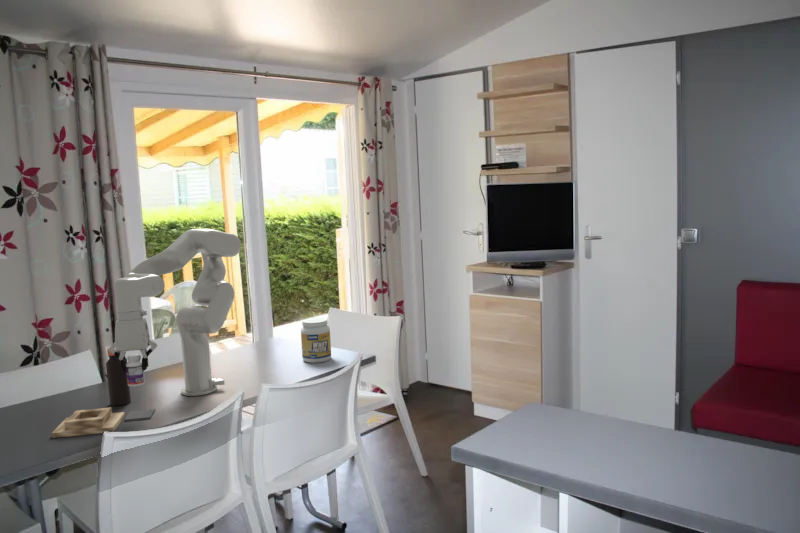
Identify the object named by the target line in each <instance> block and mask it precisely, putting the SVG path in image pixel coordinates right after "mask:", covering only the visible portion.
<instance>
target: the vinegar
mask: <svg viewBox="0 0 800 533" xmlns="http://www.w3.org/2000/svg"><path fill="white" fill-rule="evenodd" d="M109 348H110V347H108V348H107V357H108V358H109V359H108V360H107V361H106V363H105V368H106V376H107V377H106V378H107V385H108V386H107V387H108V396H109V405H110V406H112V407H120V406H125V405H129V404H130V403H131V402H132V398H131V388H130V387H131V386H128V383H127V372H123V369H121V360H119V358H118V357H116V356H115V355H114V354H112V353H111V352H109ZM115 350H116V347H115ZM119 352H121V351H119Z"/></svg>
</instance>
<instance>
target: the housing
mask: <svg viewBox="0 0 800 533" xmlns="http://www.w3.org/2000/svg"><path fill="white" fill-rule="evenodd" d="M112 407H113V406H112ZM112 407H111V406H110V407H99V408H90V409H80V410H79V409H77V410H75V411H74V412H73V413H72V414H71V415H70V416H69V417H65V419H63V421H62V422H61V423H60V424H58V426H57V427H56V428H55V429H54V430H53V431H52V432H51V438H53V439H55V438H65V437H74V436H76V437H77V436H85V435H86V436H87V435H94V434H97V435H98V434H104V433H103V432H104V431H114V432H115V431H116V430H117V428H118V427H119V426H120V424H121V423H122V422H123V420H124V419H125V418H126V411H122V412H121V411H119V412H113V408H112Z"/></svg>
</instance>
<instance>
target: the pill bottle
mask: <svg viewBox="0 0 800 533" xmlns="http://www.w3.org/2000/svg"><path fill="white" fill-rule="evenodd" d="M141 356H142V354H141V353H140V354H139V353H138V354H136V353H135V354H130V355H128V356H127V357H126V358H127V364H126V372H127V383H128V386H130V387H131V388H132V387H140V386H144V384H146V377H145V370H143V367H142V357H141Z"/></svg>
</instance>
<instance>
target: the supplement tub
mask: <svg viewBox="0 0 800 533" xmlns="http://www.w3.org/2000/svg"><path fill="white" fill-rule="evenodd" d="M328 323H329V322H328V319H327V318H325V317H310V318H306V319H303V320H302V324H301V325H302V327H301V329H300V339H301V340H300V341H301V342H300V343H301V355H302V357H301V358H302V360H303V362H306V363H311V364H312V363H313V364H316V363H319V364H320V363H323V362H324V363H325V362H327V361H329V360H330V359H331V358H332V345H331V329H330V327H329V325H328Z"/></svg>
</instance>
